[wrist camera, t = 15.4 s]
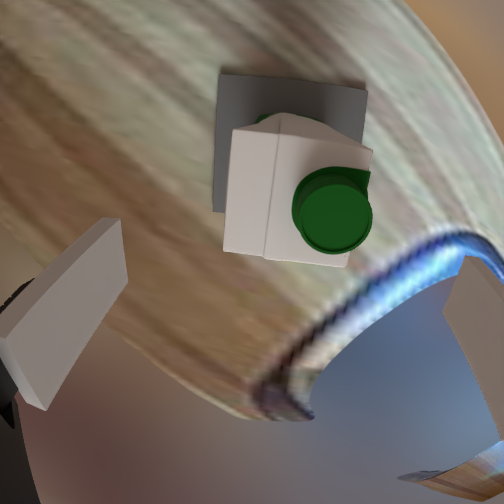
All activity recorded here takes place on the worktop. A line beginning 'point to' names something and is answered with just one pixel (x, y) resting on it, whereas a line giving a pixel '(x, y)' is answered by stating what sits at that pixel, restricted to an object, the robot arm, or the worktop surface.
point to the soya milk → (296, 191)
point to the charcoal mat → (279, 100)
